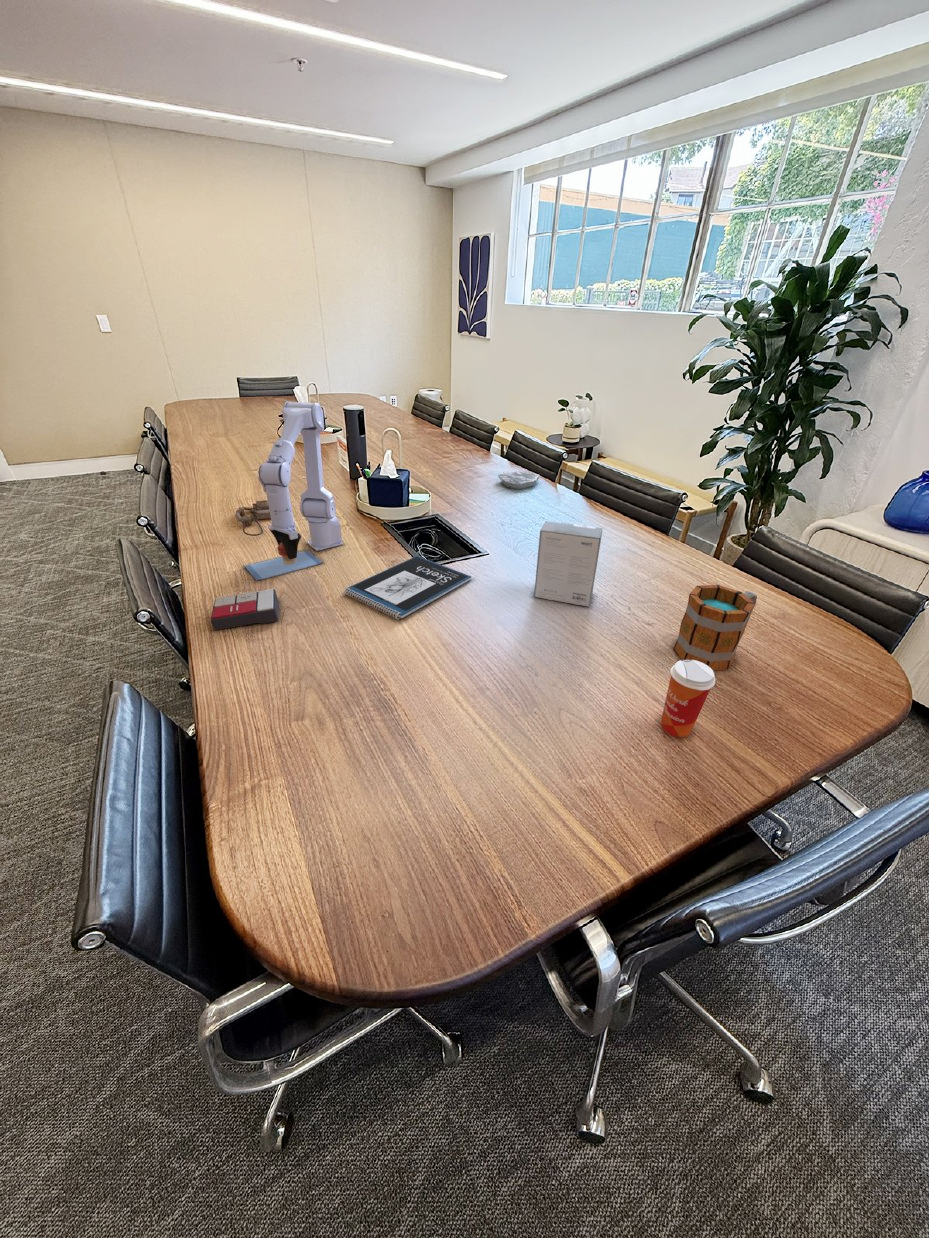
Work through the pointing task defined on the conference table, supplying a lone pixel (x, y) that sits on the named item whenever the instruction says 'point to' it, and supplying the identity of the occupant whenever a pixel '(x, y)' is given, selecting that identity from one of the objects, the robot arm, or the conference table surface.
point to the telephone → (258, 509)
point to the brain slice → (518, 479)
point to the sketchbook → (407, 586)
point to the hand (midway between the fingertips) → (288, 554)
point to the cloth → (281, 566)
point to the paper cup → (686, 696)
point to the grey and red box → (245, 609)
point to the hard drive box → (567, 562)
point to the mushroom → (285, 555)
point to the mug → (714, 625)
